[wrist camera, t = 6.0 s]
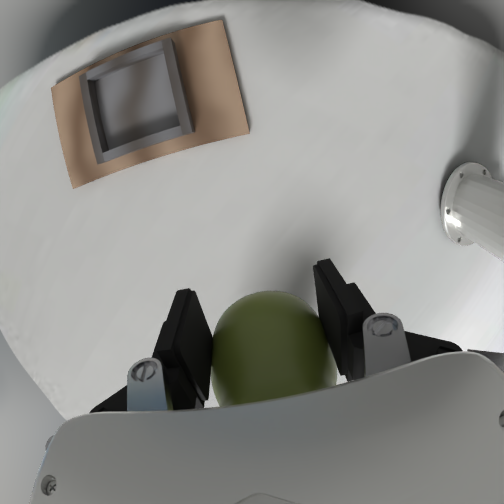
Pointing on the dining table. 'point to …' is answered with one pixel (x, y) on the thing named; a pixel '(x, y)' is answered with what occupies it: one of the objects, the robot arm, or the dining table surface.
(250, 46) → the dining table surface
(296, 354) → the pear
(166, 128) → the tray
